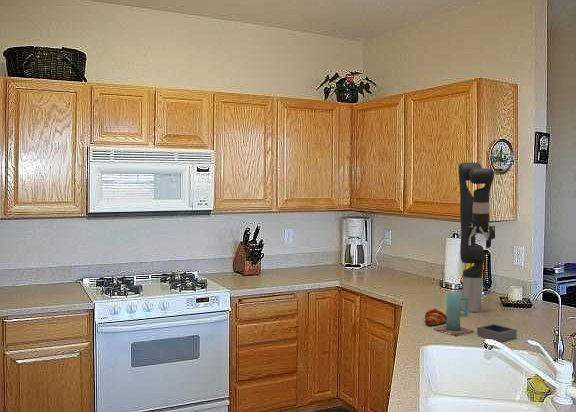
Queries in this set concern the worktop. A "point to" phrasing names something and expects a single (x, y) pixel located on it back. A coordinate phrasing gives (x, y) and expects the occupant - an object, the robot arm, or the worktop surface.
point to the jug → (455, 310)
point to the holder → (497, 332)
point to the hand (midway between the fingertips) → (480, 246)
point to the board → (462, 331)
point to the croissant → (435, 317)
